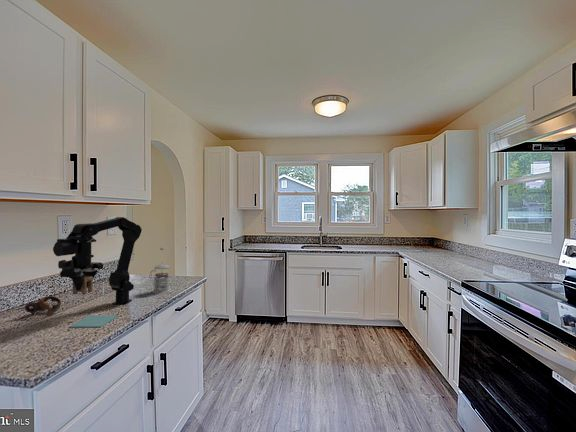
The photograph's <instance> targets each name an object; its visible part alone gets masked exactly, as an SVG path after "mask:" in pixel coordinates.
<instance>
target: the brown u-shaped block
mask: <svg viewBox="0 0 576 432" xmlns="http://www.w3.org/2000/svg"><path fill="white" fill-rule="evenodd" d="M93 280H94V278H93V276H85V277H84V281H83V284H82V287H81V290H80V291H77V289H76V287H75V285H74V282H73V281H72V295H77V294H78V292H79V293H81V295H88V293H91V292H94V291H93V284H94V282H93ZM87 281H88V288H87ZM87 292H88V293H87Z"/></svg>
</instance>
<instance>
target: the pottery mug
mask: <svg viewBox="0 0 576 432" xmlns="http://www.w3.org/2000/svg"><path fill="white" fill-rule="evenodd" d="M48 300H51V302H57V304H53V305H52V306H51V305H50V304H49V303H46V302H47V301H48ZM61 304H62V301H61V299H60V298H59V297H56V296H53V295H51V296H48V295H46V296H43V297H41V299H39V300H38V301H36V302H33V301H32V302H30V301H29V302H27V303H26V304H25V306H24V310H25V311H26V313H27V312H28V313H30V314H31V315H35V313H37V312H44V311H46V310H47V311H46V313H45V315H46V316H51V315H52V314H53V313H55V312H57V311H58V310H59V309H61ZM50 306H51V307H50Z"/></svg>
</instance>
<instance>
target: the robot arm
mask: <svg viewBox="0 0 576 432" xmlns="http://www.w3.org/2000/svg"><path fill="white" fill-rule="evenodd" d="M113 228H118V229H119V230H120V231H121V233H122V234H121V236H122V239H123V243H122V246H121V247H122V248H121V252H120V255H119V259H118V262H117V266H116V269H115V270H114V271H112V272H110V274H109V278H108V280H107V281H108V285H109V286H110V287H111V291H115V301H114V302H112V305H127V304H129V303H130V302H132V301H133V299H131V298H130V292H131V291H133V290H134V287H135V285H134V284H133V283H132V282H131V281H130V278H131V277H130V273H129V267H130V262H131V260H132V255H133V251H134V247H135V243H136V242H137V240H138V239H139V238H140V237H141V234H142V230H143V229H142V227H141V225H139V224H137V223H135V222H133V221H131V220H129V219H127V218H126V217H125V216H117V217H114V218H110V219H106V220H102V221H97V222H94V223H93V222H92V223H90V222H89V223H78V224H77V223H76V224H75V225H73V228H72V230H71V232H70V233H69V234H68V235H67V236H66V238H57V239H56V242H55V243H54V245H53V247H52V251H53V254H54V255H55V256H56V257H62V256H70V255H71V259H70V260H66V259H61V260H59V261H58V264H57V266H58V268H59V269H61V270H60V272H59V277H60V278H69V279H71V281H72V283H73V282H74V285H75V287H76V289H77V291H78V292H79V291H80V290H81V287H82V284H83V281H84V277H85V276H93V279H94V278H95V276H96V275H97V273H98V272H99V270H103V269H104V263H102V262H99V261H98V262H96V261H95V262H92V258H94V256H95V254H92V243H96V242H97V239H95V238H94V236H96V235H98V233H100V232H103V231H106V230H110V229H113ZM96 269H97V270H96ZM87 289H88V281H87Z"/></svg>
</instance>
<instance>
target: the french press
mask: <svg viewBox="0 0 576 432" xmlns="http://www.w3.org/2000/svg"><path fill="white" fill-rule="evenodd" d="M159 249H160V251H163V250H164V247H160V248H159ZM169 268H170V266H169V265H167V264H163V263H161V264H157V265H156V266H154V267H153V269H152V270H151V271H150V272H149V277H148V278H149V280H150V281H152V280H153V281H152V283H153V290H152V292H153V293H152V294H165V293H169V292H171V289H170V276H169V273H168V272H164V273H163V272H159V273H158V272H157V270H166V269H167V270H168V269H169ZM153 272H154V273H155V274H154V278H153V277H152V276H151V275H152V274H153Z"/></svg>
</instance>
